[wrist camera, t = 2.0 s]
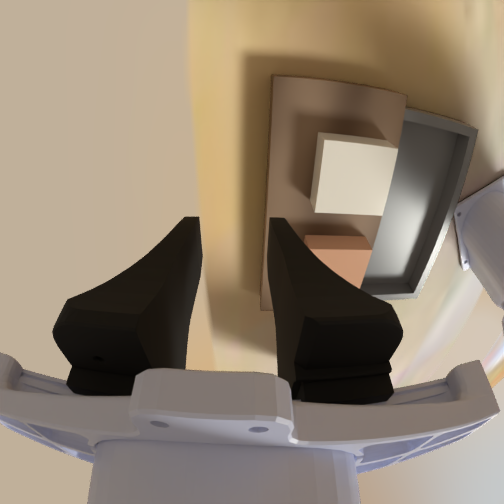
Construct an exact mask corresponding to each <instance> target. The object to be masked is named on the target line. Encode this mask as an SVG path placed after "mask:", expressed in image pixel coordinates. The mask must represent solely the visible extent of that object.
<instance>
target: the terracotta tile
mask: <svg viewBox="0 0 504 504" xmlns="http://www.w3.org/2000/svg"><path fill="white" fill-rule="evenodd" d="M304 243H305V244H306V246H307V247H308V248H309V249H310V250H311V251H312V252H313V253H314V254H315V255H316V256H317V257H318V258H319V259H320V260H321V261H322V262H323V263H324V264H325V265H327V266H328V267H329V268H330V269H331V270H333V271H334V272H335V273H337V274H338V275H339V276H341V277H342V278H344V279H345V280H346V281H348V282H349V283H351V284H353V285H354V286H356V287H357V288H359V289H360V287H361V284H362V281H363V278H364V275H365V272H366V269H367V266H368V263H369V260H370V256H371V253H372V248H371V246H370V244H369V242H368V241H367V239H366V237H365V236H329V235H305V239H304Z"/></svg>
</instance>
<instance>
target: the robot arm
mask: <svg viewBox="0 0 504 504" xmlns="http://www.w3.org/2000/svg"><path fill="white" fill-rule="evenodd" d="M458 213H459V214H458ZM454 219H455V225H456V231H457V237H458V244H459V251H460V259H461V268H462V270H463V271H466V270H467V269H469V268H471V269H472V271H473V272H474V274H475V275H476V277H477V278H478V279H479V281H480V282H481V284H482V285H483V287H484V288H485V290H486V291H487V293H488V294H489V296H490V298H491V299H492V301H493V302H494V303H495V304H496V305H497V306H498V307H500V308H502V309H503V310H504V176H502V177H501V178H499V179H498V180H496V181H494V182H493V183H491V184H490V185H488V186H486V187H485V188H483V189H481V190H480V191H478V192H476V193H475V194H473V195H471V196H470V197H468V198H466V199H465V200H463V201H461V202H460V203H458V204H457V206H456V209H455V212H454ZM202 257H203V255H202V244H201V233H200V221H199V217H184V218H183V219H182V220H181V221H180V222H179V223H178V224H177V225H176V226H175V227H174V228H173V229H172V231H171V232H170V233H169V234H168V235H167V236H166V237H165V238H164V239H163V240H162V241H161V242H160V243H159V244H157V245H156V246H155V247H154V248H153V249H152V250H151V251H150V252H149V253H148V254H147V255H145V256H144V257H143V258H142V259H140V260H139V261H138V262H136V263H135V264H134V265H132V266H131V267H129V268H128V269H126V270H125V271H123V272H122V273H120V274H119V275H117V276H115V277H114V278H112V279H111V280H109V281H107V282H105V283H103V284H101V285H99V286H97V287H95V288H93V289H91V290H89V291H87V292H85V293H82V294H80V295H77V296H75V297H72V298H70V299H68V300H67V301H66V303H65V305H64V307H63V309H62V311H61V313H60V315H59V317H58V319H57V321H56V323H55V325H54V328H53V331H52V332H53V338H54V340H55V342H56V344H57V346H58V347H59V349H60V350H61V351H62V353H63V354H64V355H65V357H66V358H67V360H68V361H69V362H70V364H71V365H72V368H71V371H70V374H69V376H68V379H67V381H66V380H62V379H57V378H54V377H50V376H46V375H42V374H39V373H35V372H32V371H28V370H24V369H23V368H22V367H21V365H20V364H19V363H18V362H17V361H16V360H15V359H14V358H13V357H11V356H9V355H6V354H3V353H0V423H1V424H2V425H4V426H5V427H7V428H8V429H10V430H12V431H14V432H16V433H19V434H21V435H23V436H25V437H28V438H30V439H32V440H34V441H36V442H39V443H41V444H43V445H46V446H48V447H50V448H53V449H55V450H58V451H60V452H63V453H65V454H68V455H70V456H73V457H76V458H79V459H81V460H85V461H87V462H90V463H93V469H92V476H91V482H90V488H89V496H88V502H87V504H361V501H360V494H359V486H358V479H357V474H360V473H364V472H369V471H372V470H376V469H380V468H383V467H387V466H390V465H393V464H397V463H400V462H403V461H406V460H409V459H412V458H415V457H417V456H420V455H423V454H426V453H428V452H431V451H434V450H437V449H439V448H442V447H444V446H447V445H450V444H452V443H455V442H457V441H460V440H462V439H464V438H466V437H467V436H468V435H470V434H472V433H473V432H474V431H476V430H477V429H479V428H480V427H481V426H483V425H484V424H485V423H487V422H488V421H490V420H491V419H492V418H493V417H495V416H496V415H497V414H499V412H500V409H499V407H498V404H497V402H496V399H495V396H494V394H493V391H492V388H491V386H490V383H489V381H488V379H487V376H486V374H485V372H484V369H483V367H482V365H481V363H480V360H475V361H472V362H468V363H464V364H461V365H458V366H456V367H455V368H454V369H452V370H451V371H450V372H449V374H448V375H447V376H446V378H443V379H438V380H434V381H430V382H425V383H421V384H416V385H411V386H406V387H401V388H395V389H393V386H392V383H391V379H390V376H389V373H390V372H391V371H392V368H391V365H390V362H389V360H390V358H391V357H392V355H393V354H394V352H395V351H396V349H397V347H398V346H399V344H400V342H401V340H402V338H403V329H402V327H401V324H400V321H399V319H398V317H397V314H396V312H395V311H394V309H393V307H392V305H391V304H389V303H387V302H385V301H383V300H380V299H378V298H376V297H374V296H372V295H370V294H368V293H366V292H364V291H363V290H361V289H359V288H357V287H356V286H354V285H353V284H351V283H349V282H348V281H346V280H345V279H344V278H342V277H341V276H339V275H338V274H337V273H335V272H334V271H333V270H331V269H330V268H329V267H328V266H327V265H325V264H324V263H323V262H322V261H321V260H320V259H319V258H318V257H317V256H316V255H315V254H314V253H313V252H312V251H311V250H310V249H309V248H308V247H307V246H306V244H305V243H304V242H303V241H302V240H301V239H300V237H299V236H298V235H297V234H296V232H295V231H294V230H293V228H292V227H291V226H290V224H289V223H288V221H287V220H286V219H285V218H280V217H269V232H268V247H267V272H268V282H269V288H270V294H271V300H272V305H273V311H274V317H275V325H276V341H277V364H278V376H276V375H274V374H269V373H260V372H232V371H202V370H185V368H186V354H187V342H188V333H189V325H190V319H191V314H192V310H193V305H194V301H195V297H196V293H197V289H198V284H199V280H200V275H201V267H202ZM502 326H503V334H504V317H503V319H502Z"/></svg>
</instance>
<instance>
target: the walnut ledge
mask: <svg viewBox="0 0 504 504" xmlns="http://www.w3.org/2000/svg"><path fill="white" fill-rule="evenodd" d="M406 101H407V95H404V94H401V93H399V92H396V91H392V90H387V89H383V88H378V87H373V86H368V85H362V84H356V83H350V82H344V81H337V80H329V79H321V78H312V77H302V76H289V75H273V74H271V94H270V116H269V138H268V159H267V179H266V199H265V218H264V236H263V254H262V271H261V288H260V305H261V311H273V305H272V300H271V294H270V288H269V282H268V272H267V247H268V232H269V217H280V218H285V219H286V220H287V221H288V223H289V224H290V226H291V227H292V228H293V230H294V231H295V232H296V234H297V235H298V236H299V237H300V239H301V240H302V241H303V242H304V239H305V235H329V236H365V237H366V239H367V241H368V242H369V244H370V246H371V248H372V249H373V246H374V243H375V239H376V236H377V233H378V229H379V226H380V222H381V218H382V216H377V215H358V214H337V213H315V212H314V209H313V207H312V204H311V201H310V196H311V189H312V181H313V172H314V164H315V156H316V147H317V137H318V132H322V133H332V134H342V135H351V136H359V137H367V138H374V139H381V140H387V141H389V142H390V143H391V144H393V145H394V146H395V147H396V148H398V147H399V142H400V136H401V131H402V125H403V120H404V114H405V107H406Z"/></svg>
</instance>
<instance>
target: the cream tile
mask: <svg viewBox="0 0 504 504" xmlns="http://www.w3.org/2000/svg"><path fill="white" fill-rule="evenodd" d="M397 153H398V148H396V147H395V146H394V145H393V144H391V143H390V142H389V141H387V140H381V139H374V138H367V137H359V136H351V135H342V134H332V133H322V132H318V137H317V147H316V156H315V164H314V172H313V181H312V189H311V196H310V201H311V204H312V207H313V209H314V212H315V213H337V214H358V215H377V216H383V212H384V208H385V204H386V201H387V197H388V193H389V189H390V184H391V180H392V176H393V172H394V167H395V163H396V158H397Z"/></svg>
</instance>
